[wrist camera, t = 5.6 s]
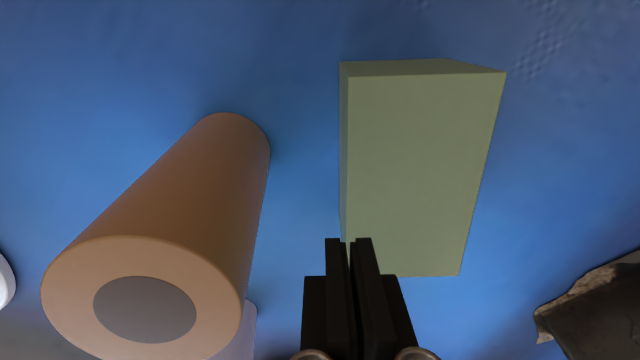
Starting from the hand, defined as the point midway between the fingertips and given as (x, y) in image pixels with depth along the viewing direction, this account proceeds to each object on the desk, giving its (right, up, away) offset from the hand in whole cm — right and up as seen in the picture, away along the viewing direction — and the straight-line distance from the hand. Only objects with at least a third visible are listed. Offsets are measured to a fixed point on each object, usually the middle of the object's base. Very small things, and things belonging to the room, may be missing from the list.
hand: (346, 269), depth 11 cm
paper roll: (-3, +5, +10) cm, 12 cm away
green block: (+4, +6, +11) cm, 13 cm away
